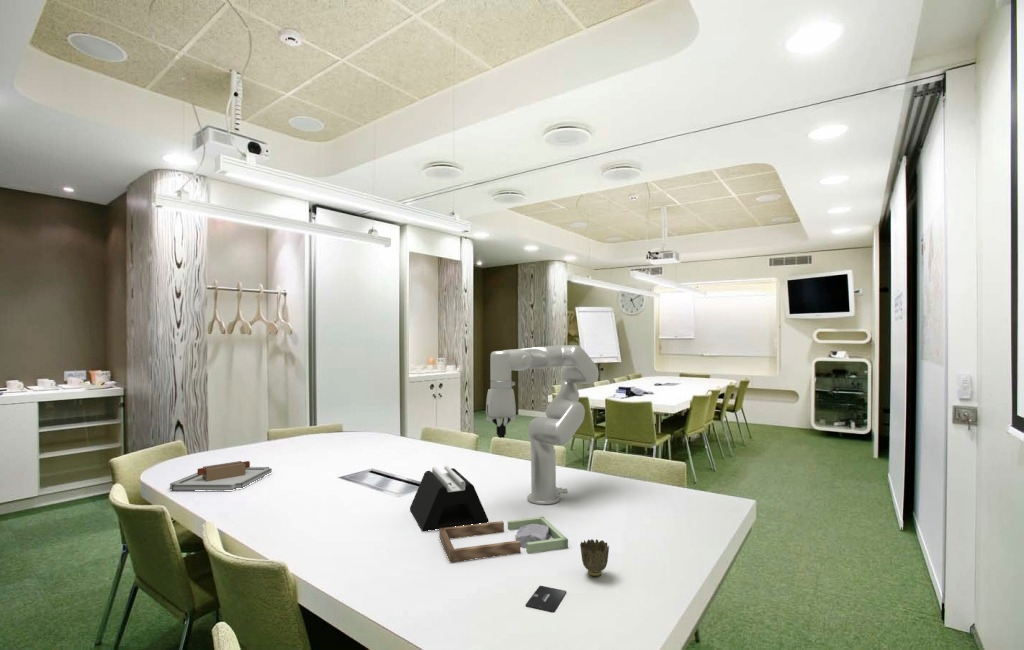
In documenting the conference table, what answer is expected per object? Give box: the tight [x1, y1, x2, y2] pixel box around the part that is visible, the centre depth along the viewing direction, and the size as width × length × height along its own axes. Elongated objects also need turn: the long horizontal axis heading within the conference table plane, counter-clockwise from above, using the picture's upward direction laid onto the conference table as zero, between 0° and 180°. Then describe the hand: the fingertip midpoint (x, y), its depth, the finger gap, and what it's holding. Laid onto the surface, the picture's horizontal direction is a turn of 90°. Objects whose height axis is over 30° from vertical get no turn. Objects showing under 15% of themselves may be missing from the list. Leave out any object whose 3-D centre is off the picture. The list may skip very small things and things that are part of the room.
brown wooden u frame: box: [438, 520, 521, 563], centre depth 146 cm, size 20×18×3 cm
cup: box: [579, 538, 610, 579], centre depth 127 cm, size 8×7×8 cm
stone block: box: [515, 524, 550, 549], centre depth 150 cm, size 12×5×10 cm
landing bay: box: [507, 516, 569, 554], centre depth 152 cm, size 12×20×2 cm, turn 18°
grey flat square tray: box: [169, 460, 273, 492], centre depth 216 cm, size 30×30×8 cm
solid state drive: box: [525, 585, 567, 613], centre depth 116 cm, size 7×10×1 cm
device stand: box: [409, 465, 490, 532], centre depth 172 cm, size 22×22×15 cm
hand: (501, 436), depth 175 cm, fingers closed
